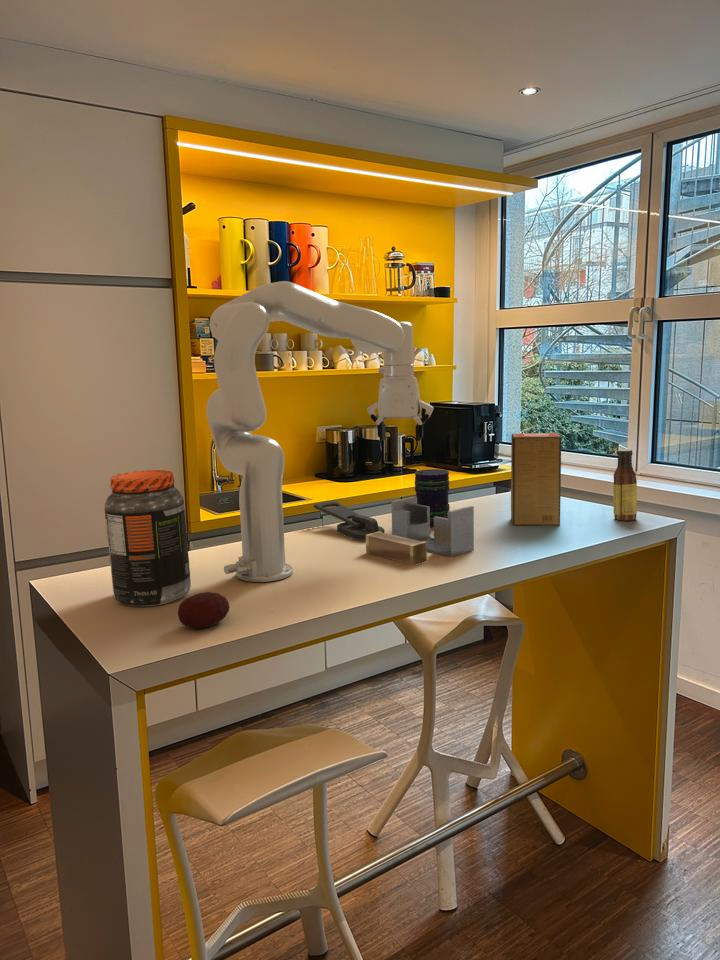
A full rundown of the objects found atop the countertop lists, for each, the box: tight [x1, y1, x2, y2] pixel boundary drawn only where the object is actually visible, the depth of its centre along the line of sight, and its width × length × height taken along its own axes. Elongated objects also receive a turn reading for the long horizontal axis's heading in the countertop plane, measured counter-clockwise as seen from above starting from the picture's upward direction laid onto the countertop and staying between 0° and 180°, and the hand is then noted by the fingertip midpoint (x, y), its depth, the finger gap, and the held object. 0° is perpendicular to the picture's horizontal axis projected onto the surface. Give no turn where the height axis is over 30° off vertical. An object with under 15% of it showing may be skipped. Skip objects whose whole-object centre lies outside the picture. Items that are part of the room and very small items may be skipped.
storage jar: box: [414, 468, 451, 528], centre depth 210 cm, size 10×10×15 cm
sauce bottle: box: [612, 448, 638, 522], centre depth 208 cm, size 6×6×20 cm
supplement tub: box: [104, 469, 192, 607], centre depth 152 cm, size 16×16×26 cm
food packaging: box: [510, 432, 562, 527], centre depth 207 cm, size 13×9×25 cm
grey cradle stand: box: [390, 495, 475, 558], centre depth 186 cm, size 8×20×11 cm, turn 42°
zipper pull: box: [313, 500, 385, 542], centre depth 205 cm, size 9×7×25 cm
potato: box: [177, 591, 231, 629], centre depth 136 cm, size 7×10×6 cm
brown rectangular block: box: [365, 531, 428, 566], centre depth 178 cm, size 5×16×5 cm, turn 42°
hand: (400, 440), depth 187 cm, fingers open, 9 cm apart
